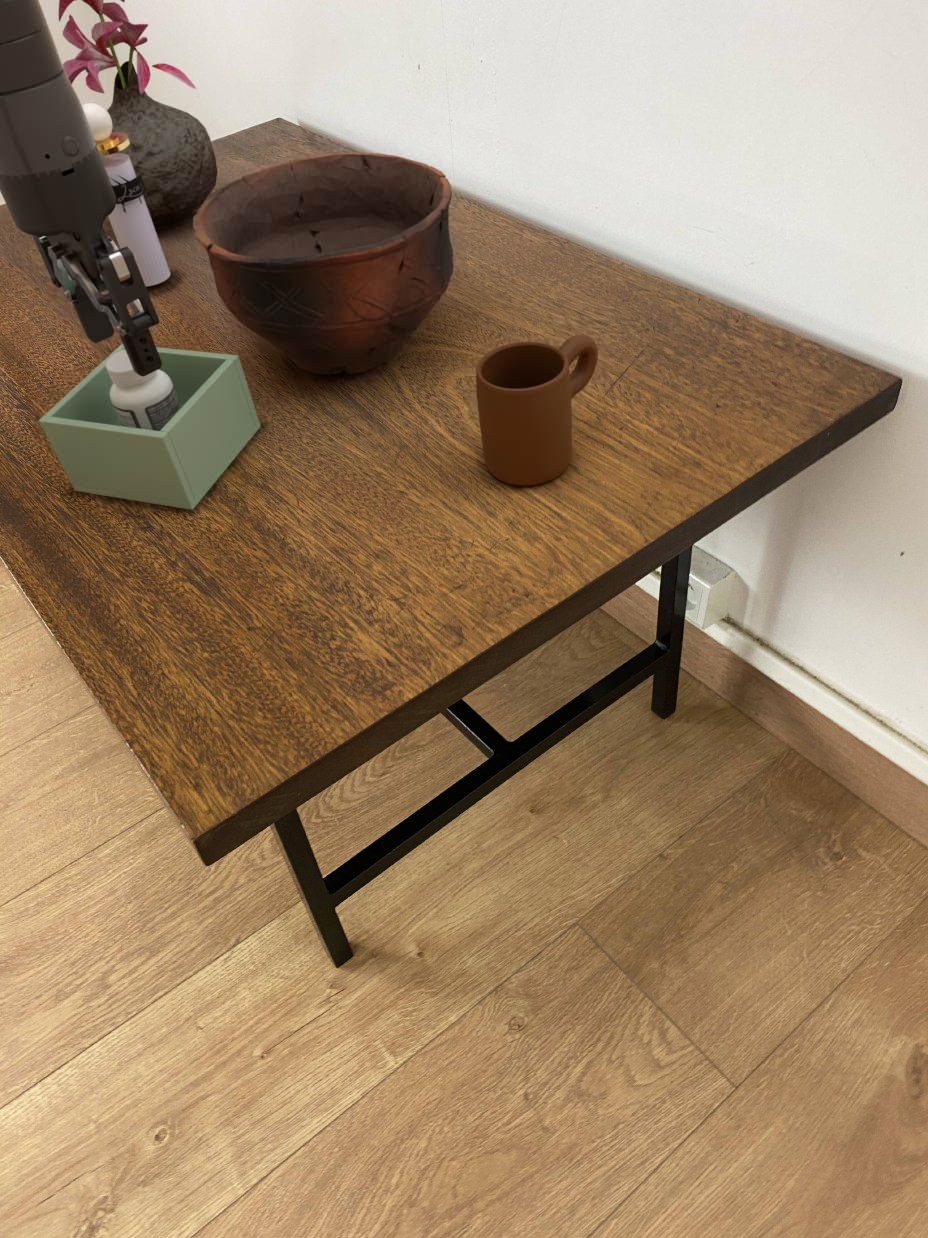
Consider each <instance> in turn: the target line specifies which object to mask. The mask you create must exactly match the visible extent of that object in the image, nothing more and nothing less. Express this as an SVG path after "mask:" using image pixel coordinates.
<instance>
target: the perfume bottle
mask: <svg viewBox="0 0 928 1238" xmlns="http://www.w3.org/2000/svg"><path fill="white" fill-rule="evenodd" d="M81 105H82V108H83V110H84V113H85V115H86V118H87V121H88V123H89V126H90V129H91V132H92V134H93V137H94V140H95V142H96V145H97V148H98V150H99V153H100V156H101V158H102V161H103V164H104V167H105V169H106V172H107V175H108V177H109V180H110V183H111V185H112V188H113V191H114V194H115V196H116V206H115V209H114V210H113V212H112V213H111V214H110V215H108V216H107V218H108V221H109V223H110V226H111V229H112V231H113V234H114V236H115V239H116V241H117V245H118V247H119V249H121V248H124V247H128V248H129V249H130V250H131V251H132V253H133V255H134V258H135V261H136V263H137V266H138V268H139V271H140V273H141V276H142V278H143V281H144V283H145V286H146V287H151V286H152V287H153V286H155V285H159V284H162V283H163V282H165V281H167V280H168V279H169V278H170V276H171V273H172V272H171V270H170V267H169V265H168V261H167V259H166V257H165V256H166V255H165V253H164V250H163V248H162V245H161V242H160V239H159V237H158V233H157V231H156V230H157V229H155V228H154V225H153V222H152V219H151V216H150V213H149V211H148V208H147V205H146V202H145V199H144V196H143V194H144V193H145V195H147V194H146V187H145V185H144V182H143V179H142V176H141V173H140V174H139V175H138V176H137V177H136V174H135V171H134V168H133V165H132V163H131V160H130V157H129V155H127V154H123V153H116V152H119V151H121V150H123V149H125V148H126V147H127V146H128V145H129V144H130V140H129V137H128V135H127V134H125V133H120V132H112V127H113V124H112V119H111V117H110V115H109V113H108V111H107V110H108V109H106V108H105V107H103V106H102V104H99V103H98V102H97V103H96V102H85V103H83V104H81ZM114 153H116V154H114ZM139 184H140V185H139ZM141 185H142V188H141V187H140V186H141ZM143 187H144V189H143ZM142 191H143V192H142ZM147 198H148V197H147Z"/></svg>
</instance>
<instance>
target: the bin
mask: <svg viewBox="0 0 928 1238" xmlns="http://www.w3.org/2000/svg"><path fill="white" fill-rule="evenodd" d="M156 348H157V351H158V354H159V356H160V359H161V361H162V366H161V368H160V369H158V370H161V371H163V372H165V373H166V374H167V375H168V376H169V378H170V379H171V381H172V383H173V386H174V388H175V391H176V394H177V396H178V399H179V402H180V404H181V407H182V408H181V409H180V410H179V411H178V412H177V413H176V414H175V415H174V416H173V417H172V418H171V420H170V421H169V422H168V423H167V424H166V425H165V426H164V427H163V428H162V429H161V430H160V431H154V430H146V429H139V428H131V427H124V426H123V425H122V423H121V421H120V419H119V417H118V415H117V412H116V410H115V408H114V406H113V404H112V401H111V399H110V389H111V387H112V385H113V384H114V383H113V382H112V381H111V379H110V376H109V374H108V372H107V369H106V362H107V360H108V359H109V358H110V357H111V356H112V355H114V354H116V353H117V352H119V351H122V350H125V348H124V345H123V343H121V344H120V345H119V346H118V347H117V348H116V349H115V350H113V351H112V352H111V353H110V354H109V355H108V356H107V357H106V358H105V359H103V360H102V361H101V363H99V364H98V365H97V366H96V367H95V368H94V369H93V370H92V371H91V372H90V373H88V374H87V375H86V376H85V377H84V378H83V379H81V381H80V382H79V383H78V384H77V385H75V386H74V387H73V388H72V389H71V390H69V392H68V393H67V394H65V396H63V397H62V398H61V399H60V400H59V401H57V403H55V405H54V406H52V407H51V408H50V409H49V410H48V411H47V412H46V413H45V414H44V415H43V416H41V418H39V419H38V423H39V425H40V427H41V429H42V431H43V433H44V434H45V436H46V438H47V440H48V442H49V444H50V446H51V447H52V449H53V451H54V453H55V456H56V457H57V459H58V461H59V462H60V464H61V466H62V469H63V470H64V472H65V474H66V477H67V478H68V480H69V482H70V484H71V485H72V488H73V490H74V491H75V492H81V493H85V494H92V495H99V496H105V497H110V498H117V499H122V500H128V501H136V502H141V503H147V504H153V505H160V506H167V507H172V508H178V509H185V510H189V511H193V510H194V509H195V508H196V507H197V505H198V504H199V503H200V502H201V500H202V499H203V498H204V497H205V496H206V494H207V493H208V492H209V491H210V489H212V487H213V486H214V484H215V483H216V482H218V479H219V478H220V477H221V476H222V475H223V473H224V472H226V470H227V469H228V467H229V466H230V465H231V464H232V462H233V461H234V460H235V459H236V458H237V456H238V455H239V454H240V453H241V451H242V450H243V449H244V448H245V446H246V445H247V444H248V443H249V442H250V440H251V439H252V438H253V437H254V435H255V434H256V433H257V432H258V431H259V429H260V428H261V422H260V419H259V416H258V413H257V410H256V408H255V404H254V401H253V397H252V395H251V394H252V393H251V392H250V389H249V385H248V381H247V379H246V375H245V372H244V369H243V366H242V364H241V360H240V357H239V355H238V354H228V353H219V352H209V351H200V350H199V351H198V350H188V349H178V348H169V347H168V348H167V347H157V346H156Z"/></svg>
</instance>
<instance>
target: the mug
mask: <svg viewBox="0 0 928 1238" xmlns="http://www.w3.org/2000/svg"><path fill="white" fill-rule="evenodd" d="M598 358H599V350H598V347H597V343H596V342H595V339H594V338H592V337H591V336H589V335H588V334H586V333H585V334H582V333H581V334H575V335H573V336H571V337H570V336H569V337H568V338H567V339H566V340H564V342H563V343H562V344H561V345H560V346H559V347H556V346H553V345H551V344H548V343H544V342H540V341H539V342H538V341H517V342H511V343H507V344H503V345H500V346H498V347H495V348H493V349H491V350H490V351H488V352H486V354H484V355H483V356H482V357H481V358H480V360H479V361H478V363H477V365H476V369H475V378H476V379H475V380H476V382H475V383H476V385H475V386H476V401H477V409H478V410H477V411H478V420H479V428H480V435H481V444H482V445H481V446H482V453H483V459H484V463H485V466H486V468H487V470H488V471H489V472H490V474H491V475H492V476H493V477H495V478H496V479H497V480H499V481H501V482H504V483H506V484H510V485H515V486H536V485H541V484H544V483H548V482H549V481H552V480H554V479H556V478H558V477H559V476H560V475H561V474H563V473H564V471H566V469H567V467H569V464H570V462H571V459H572V455H573V417H572V416H573V413H572V411H573V410H572V407H573V405H572V400H573V398H574V397H575V396H576V395H577V394H579V393H580V392H581V391H583V390H584V388H586V386H587V385H588V384H589V382H590V381H591V379H592V377H593V375H594V373H595V371H596V368H597V364H598ZM576 359H577V362H576V364H575V367H574V368H573V370H572V371H571V372H570V366H571V365H572V364H573V362H575V360H576Z"/></svg>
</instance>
